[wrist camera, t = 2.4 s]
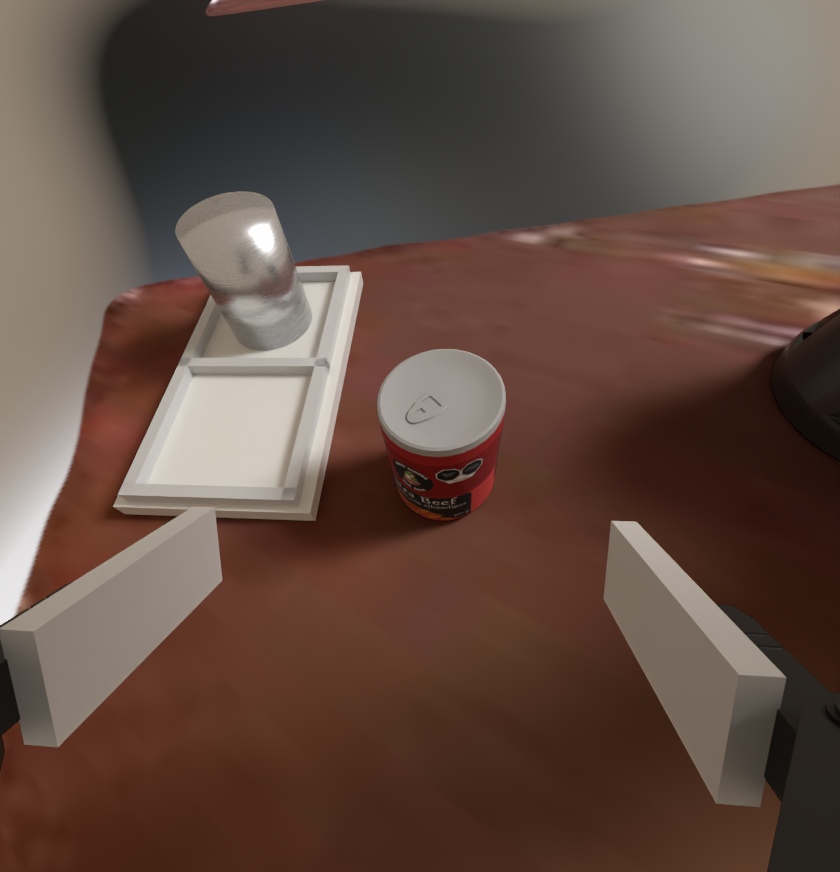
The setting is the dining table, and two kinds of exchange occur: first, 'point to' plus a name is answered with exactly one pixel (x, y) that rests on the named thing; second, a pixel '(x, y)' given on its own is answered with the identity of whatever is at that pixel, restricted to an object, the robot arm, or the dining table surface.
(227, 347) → the divided white tray
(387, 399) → the canned food
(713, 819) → the dining table surface
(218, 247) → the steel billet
